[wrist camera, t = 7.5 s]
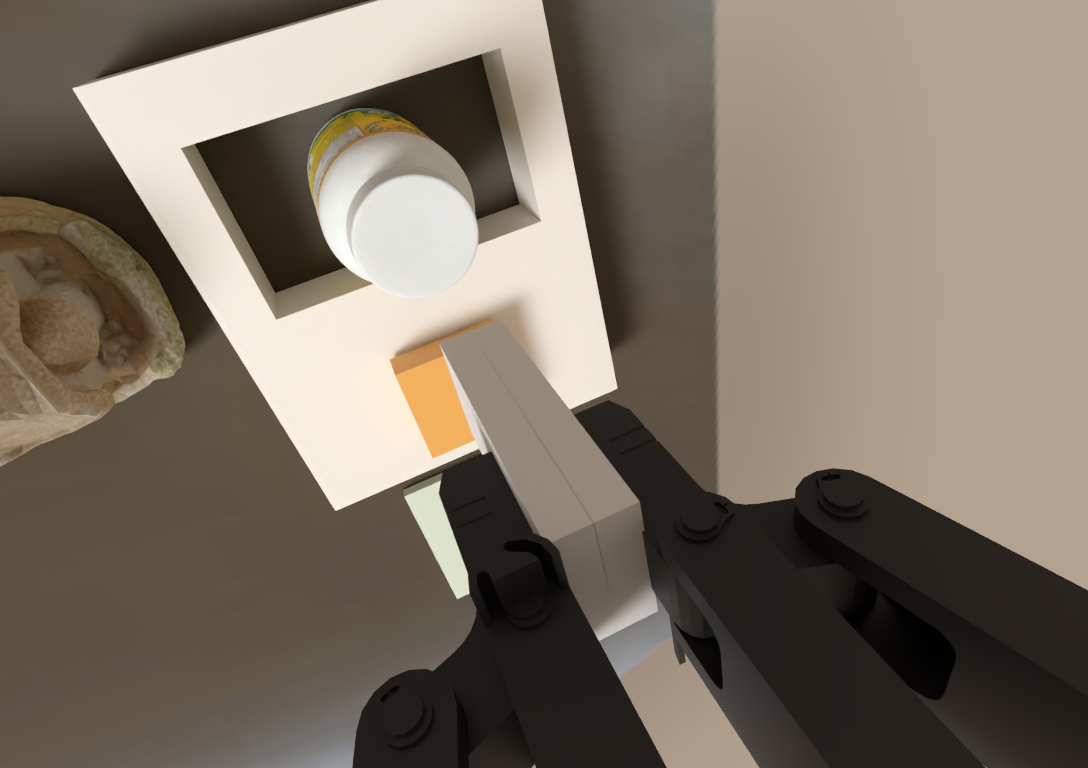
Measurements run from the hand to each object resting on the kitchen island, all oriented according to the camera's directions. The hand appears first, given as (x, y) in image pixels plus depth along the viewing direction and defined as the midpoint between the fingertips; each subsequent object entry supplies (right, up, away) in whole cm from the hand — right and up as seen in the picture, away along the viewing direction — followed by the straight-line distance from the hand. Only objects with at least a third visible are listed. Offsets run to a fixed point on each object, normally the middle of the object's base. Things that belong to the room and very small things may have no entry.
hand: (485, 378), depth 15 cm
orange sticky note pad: (-4, +1, +17) cm, 18 cm away
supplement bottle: (-6, +9, +12) cm, 16 cm away
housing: (-5, +6, +14) cm, 16 cm away
